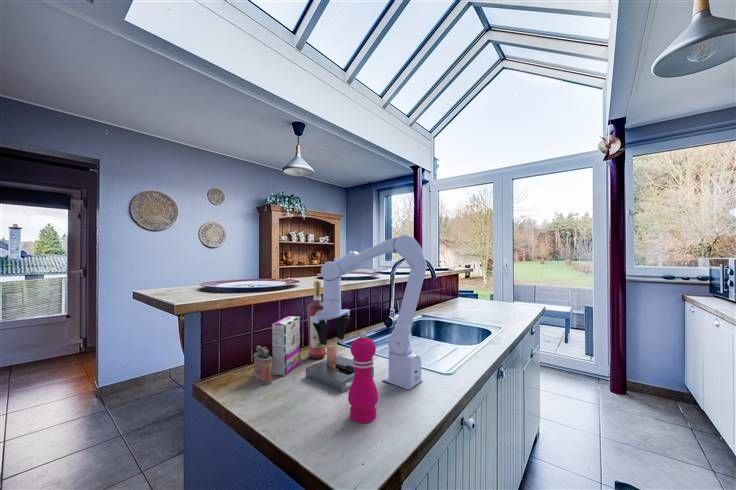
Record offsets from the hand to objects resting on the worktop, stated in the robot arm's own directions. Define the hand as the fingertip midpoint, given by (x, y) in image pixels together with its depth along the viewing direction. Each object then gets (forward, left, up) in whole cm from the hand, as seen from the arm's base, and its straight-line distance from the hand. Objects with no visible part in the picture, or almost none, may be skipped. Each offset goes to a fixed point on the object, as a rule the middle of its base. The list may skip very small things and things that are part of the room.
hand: (332, 341), depth 95 cm
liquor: (+16, -7, -10) cm, 20 cm away
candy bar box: (+15, +7, -10) cm, 19 cm away
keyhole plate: (-3, 0, -10) cm, 11 cm away
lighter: (+13, +17, -10) cm, 24 cm away
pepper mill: (-23, +12, -10) cm, 28 cm away
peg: (0, 0, -10) cm, 10 cm away
